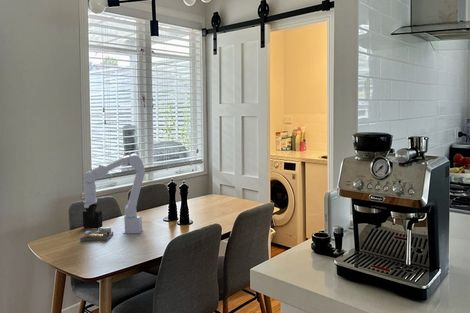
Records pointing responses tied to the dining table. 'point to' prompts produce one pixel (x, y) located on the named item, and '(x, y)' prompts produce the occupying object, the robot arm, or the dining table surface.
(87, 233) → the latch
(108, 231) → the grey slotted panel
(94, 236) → the strap
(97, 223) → the electronic device
